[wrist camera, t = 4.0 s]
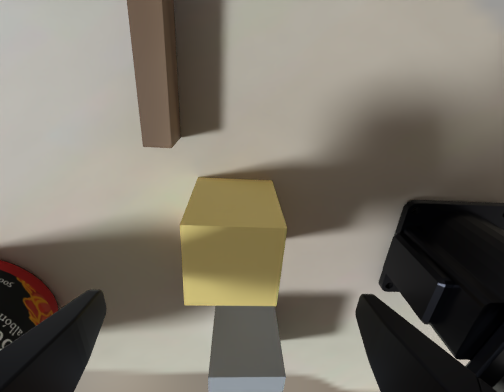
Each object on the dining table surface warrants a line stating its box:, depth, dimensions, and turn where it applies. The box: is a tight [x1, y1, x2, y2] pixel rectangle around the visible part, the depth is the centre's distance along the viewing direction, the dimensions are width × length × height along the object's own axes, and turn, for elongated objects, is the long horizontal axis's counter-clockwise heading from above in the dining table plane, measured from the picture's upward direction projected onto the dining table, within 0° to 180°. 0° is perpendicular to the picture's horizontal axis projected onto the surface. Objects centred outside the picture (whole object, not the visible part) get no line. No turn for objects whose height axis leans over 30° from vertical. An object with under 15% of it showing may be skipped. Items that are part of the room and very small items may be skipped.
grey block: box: [208, 306, 286, 392], centre depth 17 cm, size 4×4×5 cm
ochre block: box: [180, 177, 287, 306], centre depth 13 cm, size 4×4×5 cm
